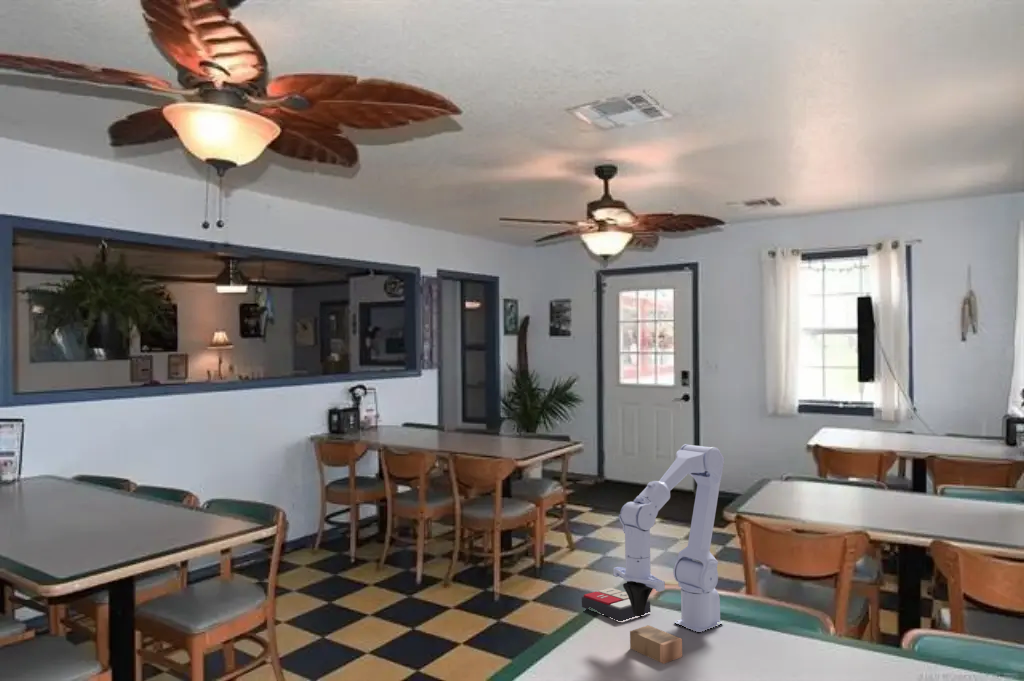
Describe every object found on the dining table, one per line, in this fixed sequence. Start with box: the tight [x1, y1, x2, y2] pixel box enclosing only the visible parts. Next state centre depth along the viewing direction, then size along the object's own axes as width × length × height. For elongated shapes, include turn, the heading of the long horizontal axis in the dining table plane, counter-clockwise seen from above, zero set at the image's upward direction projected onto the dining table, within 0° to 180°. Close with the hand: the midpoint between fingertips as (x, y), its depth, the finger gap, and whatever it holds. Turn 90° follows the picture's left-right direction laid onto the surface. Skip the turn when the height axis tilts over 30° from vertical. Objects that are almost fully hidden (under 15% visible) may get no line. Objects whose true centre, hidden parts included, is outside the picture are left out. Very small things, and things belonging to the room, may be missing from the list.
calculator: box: [581, 587, 652, 621], centre depth 182 cm, size 11×4×15 cm
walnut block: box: [629, 624, 683, 664], centre depth 155 cm, size 6×4×10 cm
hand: (638, 614), depth 160 cm, fingers closed
